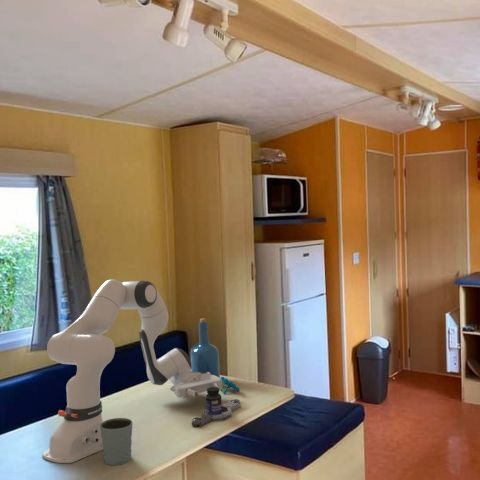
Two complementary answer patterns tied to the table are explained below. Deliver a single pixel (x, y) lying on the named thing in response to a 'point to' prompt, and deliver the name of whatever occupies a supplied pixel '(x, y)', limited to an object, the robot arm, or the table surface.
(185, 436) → the table surface
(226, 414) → the octagon ring handle
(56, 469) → the table surface
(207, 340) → the wine bottle
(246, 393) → the table surface
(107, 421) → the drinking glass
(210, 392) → the pill bottle
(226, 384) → the blue jointed connector toy
